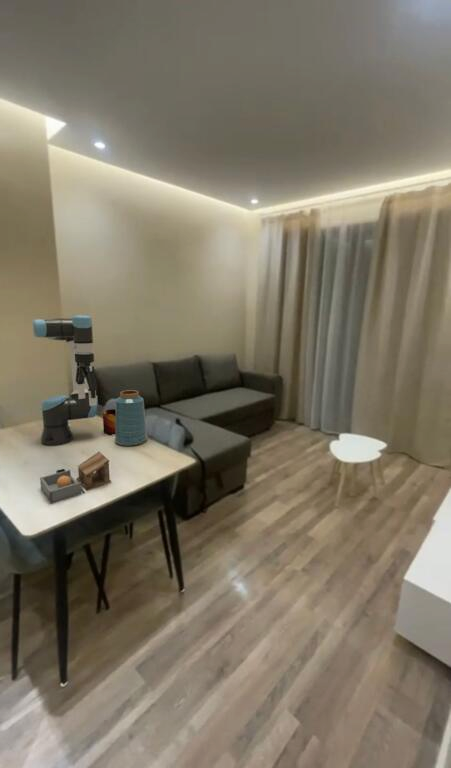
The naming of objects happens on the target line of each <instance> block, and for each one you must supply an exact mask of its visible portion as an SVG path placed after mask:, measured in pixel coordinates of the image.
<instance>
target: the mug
mask: <svg viewBox="0 0 451 768" xmlns="http://www.w3.org/2000/svg"><path fill="white" fill-rule="evenodd" d="M115 417H116V408H113V409H107V410H103V411H102V423H103V424H102V426H103V435H106V434H107V436H113V435H112V434H115V420H116V419H115Z"/></svg>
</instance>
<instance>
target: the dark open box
mask: <svg viewBox="0 0 451 768" xmlns="http://www.w3.org/2000/svg"><path fill="white" fill-rule="evenodd" d="M63 471H66V469H65V468H62V469H58V470H56V471H55V474H56V473H59V472H63Z"/></svg>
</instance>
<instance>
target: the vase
mask: <svg viewBox="0 0 451 768" xmlns="http://www.w3.org/2000/svg"><path fill="white" fill-rule="evenodd" d="M119 395H120V396H119V397H118V398H116V399H115V409H116V417H115V419H116V420H115V435H114V441H115V443H116V444H118V445H120V446H123V445H124V446H125V447H133V446H132V445H135V446H138V444H139V445H141V444H143V443H145V442H146V441H147V440H148V435H147V423H146V413H145V402H144V400H145V399H144V398H143V397H141V395H140V394H139V391H138V390H135V389H127V390H122V391H120V393H119ZM124 446H123V447H124Z"/></svg>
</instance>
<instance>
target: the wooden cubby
mask: <svg viewBox="0 0 451 768" xmlns="http://www.w3.org/2000/svg"><path fill="white" fill-rule="evenodd" d="M109 462H110V460H109V459H108V458H107V456H105V455H104V454H103V453H101V452H100V451H97V452H96V453H94V454H93V455H92V456H90V457H89V458H87V459H86V460H84V461H83V462H82V463H80V464H78V465H77V469H78V477H76V481H77V483H79V482H81V487H82V488H84V489H83V490H84V491H90V490H93V489H95V488H99V487H102V486H105V485H108V484H112V480H111V479H110V464H109Z"/></svg>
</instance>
